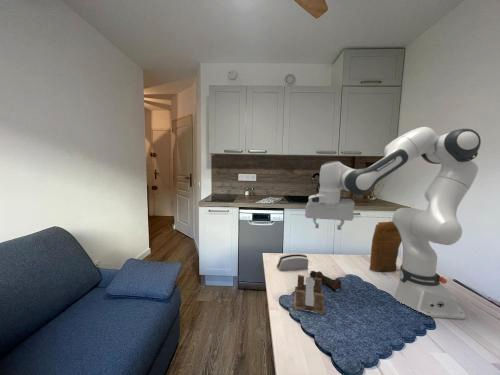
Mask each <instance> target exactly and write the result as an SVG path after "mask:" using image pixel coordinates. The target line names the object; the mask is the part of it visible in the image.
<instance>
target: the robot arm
mask: <svg viewBox="0 0 500 375" xmlns="http://www.w3.org/2000/svg"><path fill="white" fill-rule="evenodd" d="M481 144H482V142H481V137H480V134H479V133H478V132H477V131H475V130H474V129H470V128H459V129H455V130H452V131H450V132H448V133H444V134H442V135H439V134H437V133H436V131H435V130H434V129H433V128H431V127H429V126H420V127H417V128H415V129H412V130H409V131H408V132H405V133H403V134H402V135H400V136H397V137H396V138H395V139H393V140H391V141H390V142H389V143H388V144H387V145H385V147H384V150H383V154H384V157H383V158H381V159H379V160H378V161H377V162H375V163H373V164H372V165H370V166H368V167H365V168H359V169H358V168H357V169H356V168H352V167H349V166H347V165H344V164H343V163H342V162H341V161H339V160H334V161H332V160H331V161H327V162H324V163H323V164H321V166H320V168H319V178H318V179H319V189H318V193H316V194H315V193H314V194H312V195H309V196H308V201H307V203H306V206H305V212H304V216H305V218H306V219H312V222H313V223H314V225H315V226H314V227H315V228H314V229H320V227H319V226H320V225H319V223H317V219H319V220H330V221H331V220H334V221H335V220H336V221H340V223H339V224H337V227H336V229H337V231H342V227H343V225H344V224H345V221H350V222H351V221H353V220H354V218H355V216H354V215H355V214H354V213H355V212H354V208H355V206H356V205H355V203H356V202H355V201H354V200H353V199H351V198H341V191H342V190H345V191H347V192H350V193H351V194H353V195H356V196H363V195H366V194H368V193H370V192H371V191H372V190H373V189H374V187H375V186H376V185H377V183H379V182H380V181H381V180H383V179H384V178H386V177H387V176H389V175H390V174H392V173H394V172H395V171H396V170H398V169H399V168H401V167H403V166H404V165H406V164H408V163H410V162H412V161H414V160H416V159H417V158H419V157H421V158H422V159H423V160H424V161H425V162H427V163H429V164H432V165H433V164H434V165H441V167H440V170H439V171H438V173H437V174H436V176H435V177H434V178H433V180H432V182H431V183H430V185H428V187H427V189H426V191H425V192H424V197H425V200H426V201H427V202H428V205H427V208H426V209H425V210H424V209H423V210H422V209H418V208H415V207H400V208H398V209H396V210H395V211H394V212H393V214H392V220H391V221H393V223H394V225H395V226H396V227H397V229H398V231H399V234H400V237H401V240H402V241H401V244H402V259H401V260H402V262H401V265H400V268H399V269H400V270H399V274H398V275H399V276H398V277H399V282H398V286H397V288H396V290H395V293H394V296H393V297H394V298H395V300H396V301H397V302H398V301H399V302H400V303H399V302H398V303H399V304H401V303H402V304H405V305H407V306H409V307H411V308H412V309H414V310H417V311H419V312H422V313H424V314H426V315H428V316H431V317H430V318H441V319H455V320H465V319H466V313H465V312H464V311H463V309H462V308H461V307H460V306H459V305H458V300H457V297H456V296H455V295H454V294H453V292H452V291H451V290H449V289H448V288H447V287H446V286H444V285H445V284H447V283H448V280H447V279H446V278H445V277H443V276H441V275H440V274H438V273H437V265H438V254H437V252H436V251H435V250H434V249H433V247H432V246H431V243H433V244H439V245H444V246H452V245H454V244H456V243H457V242H458V241H459V240H460V239H461V238H462V236H463V235H462V234H463V228H462V225H461V224H460V222H459V221H458V219H457V212H458V207H459V205H460V203H461V202H462V200H463V199H464V197H465V196H466V194H467V193H468V192H469V190H470V189H471V187H472V185H473V183H474V181H475V179H476V177H477V174H478V172H479V167H478V165H477V163H476V162H474V161H473V160H474V159H475V158H477V156H478V153H479V152H478V151H479V150H480V148H481ZM430 242H431V243H430ZM443 284H444V285H443ZM402 304H401V305H402ZM412 309H411V310H412ZM414 310H413V311H414Z"/></svg>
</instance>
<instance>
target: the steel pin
mask: <svg viewBox="0 0 500 375" xmlns="http://www.w3.org/2000/svg"><path fill="white" fill-rule="evenodd" d="M305 285H306V296H305V305H308V306H313V303H314V291H313V286H314V278H313V277H311V276H305Z"/></svg>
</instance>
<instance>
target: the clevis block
mask: <svg viewBox="0 0 500 375" xmlns="http://www.w3.org/2000/svg"><path fill="white" fill-rule="evenodd" d="M321 281H322V280H321V278H314V282H313V291H314V303H313V306H308V305H305V296H306V283H305V275H301V274H300V275H299V274H298V275H297V285H296V286H294V295H293V302H292V303H293V305H292V309H293V308H297V309H303V310H309V311H314V312H318V313H323V314H325V315H326V308H325V307H326V306H325V299H324V291H323V290H322V282H321Z"/></svg>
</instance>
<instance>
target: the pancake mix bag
mask: <svg viewBox="0 0 500 375" xmlns="http://www.w3.org/2000/svg"><path fill="white" fill-rule="evenodd" d="M373 232H374V233H373V236H372V240H371V246H370V247H371V249H370V263H369V269H368V270H369V271H372V272H376V273H385V272H396V271H397V270H398V269H397V267H398V266H397V260H398V256H399V249H400V247H401V246H400V245H401V244H402V240H401V237H400V234H399V231H398V229H397V227H396V226H395V225H394V223H393V220H391V221H382V222H377V224H375V228H374V231H373Z"/></svg>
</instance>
